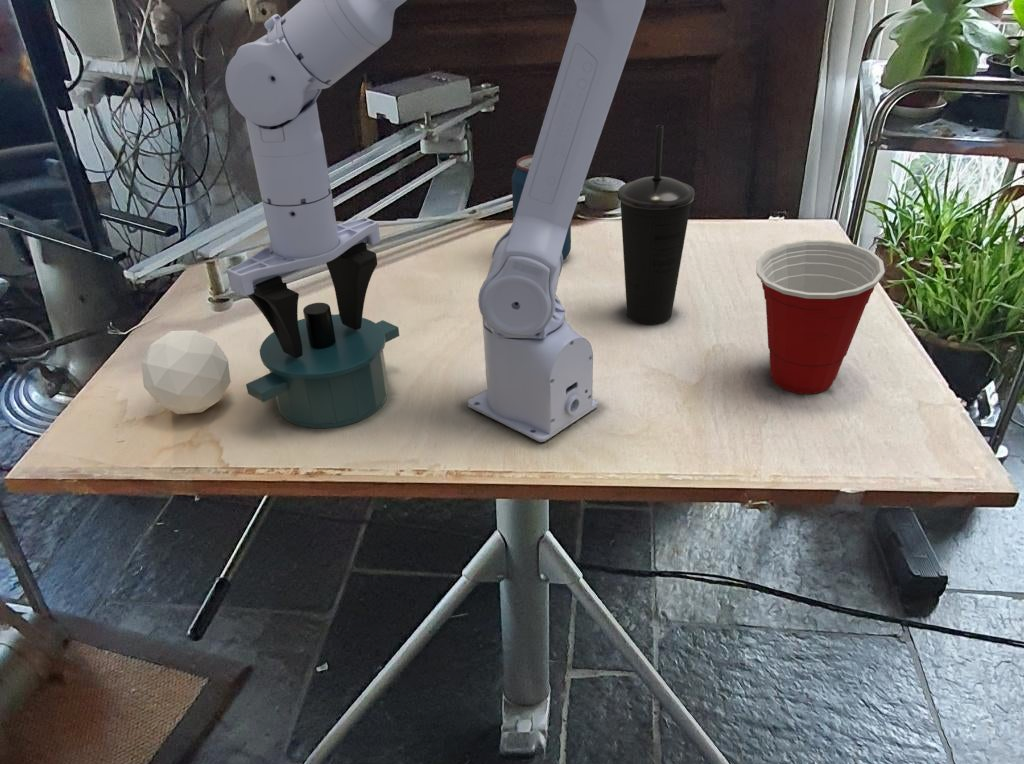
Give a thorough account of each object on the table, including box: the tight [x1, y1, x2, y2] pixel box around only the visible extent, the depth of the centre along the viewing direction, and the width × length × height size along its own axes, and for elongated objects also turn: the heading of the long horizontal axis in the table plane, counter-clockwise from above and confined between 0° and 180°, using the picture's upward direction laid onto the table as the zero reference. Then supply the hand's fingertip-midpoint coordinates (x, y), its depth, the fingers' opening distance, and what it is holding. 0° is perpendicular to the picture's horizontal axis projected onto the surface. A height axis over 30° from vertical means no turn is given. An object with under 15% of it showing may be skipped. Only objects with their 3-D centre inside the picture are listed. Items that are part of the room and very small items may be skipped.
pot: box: [245, 319, 400, 429], centre depth 84 cm, size 10×16×6 cm, turn 137°
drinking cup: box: [617, 124, 696, 325], centre depth 91 cm, size 8×8×20 cm
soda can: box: [511, 153, 572, 263], centre depth 107 cm, size 7×7×12 cm
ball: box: [141, 329, 232, 415], centre depth 83 cm, size 8×8×8 cm
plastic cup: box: [755, 239, 886, 395], centre depth 81 cm, size 11×11×12 cm
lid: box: [259, 302, 386, 379], centre depth 81 cm, size 11×11×5 cm
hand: (323, 339), depth 82 cm, fingers open, 6 cm apart
